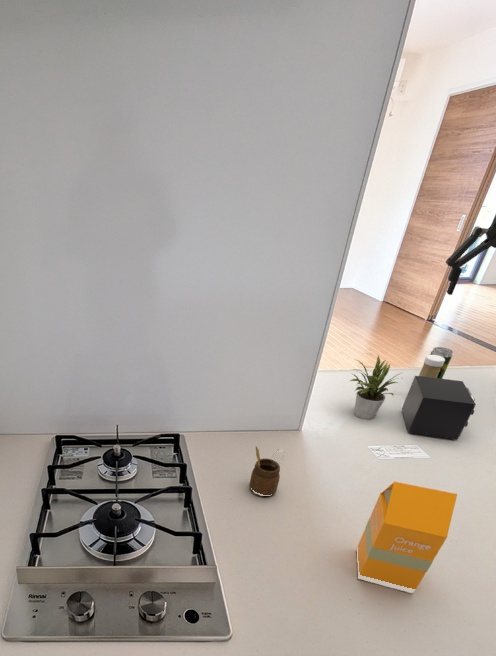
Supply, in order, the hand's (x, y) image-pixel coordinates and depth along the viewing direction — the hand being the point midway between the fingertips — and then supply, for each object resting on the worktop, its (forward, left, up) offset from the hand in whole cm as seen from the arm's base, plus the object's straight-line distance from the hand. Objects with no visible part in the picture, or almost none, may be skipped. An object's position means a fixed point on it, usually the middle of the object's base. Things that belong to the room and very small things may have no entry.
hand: (478, 295), depth 117 cm
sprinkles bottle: (+6, +8, -29) cm, 31 cm away
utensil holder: (+45, +65, -29) cm, 84 cm away
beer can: (+2, -2, -29) cm, 29 cm away
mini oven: (+6, +23, -29) cm, 37 cm away
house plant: (+22, +21, -29) cm, 42 cm away
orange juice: (+22, +81, -29) cm, 89 cm away
